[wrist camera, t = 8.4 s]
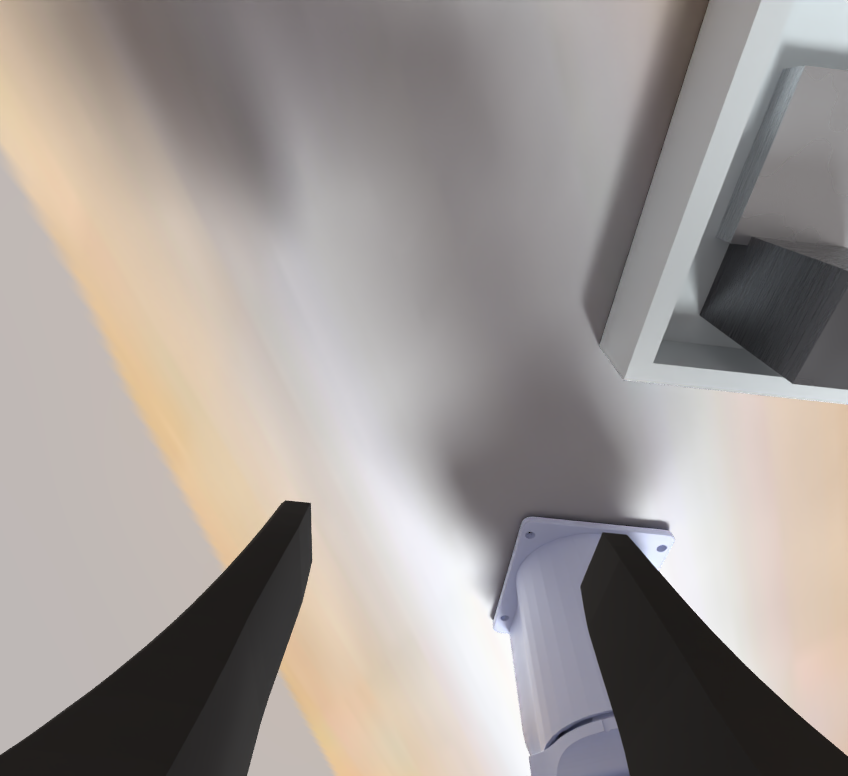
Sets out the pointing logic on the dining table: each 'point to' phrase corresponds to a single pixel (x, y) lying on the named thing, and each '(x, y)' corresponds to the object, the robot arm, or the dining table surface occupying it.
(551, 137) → the dining table surface
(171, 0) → the dining table surface
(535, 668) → the robot arm
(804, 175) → the grey l-shaped block
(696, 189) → the bin
